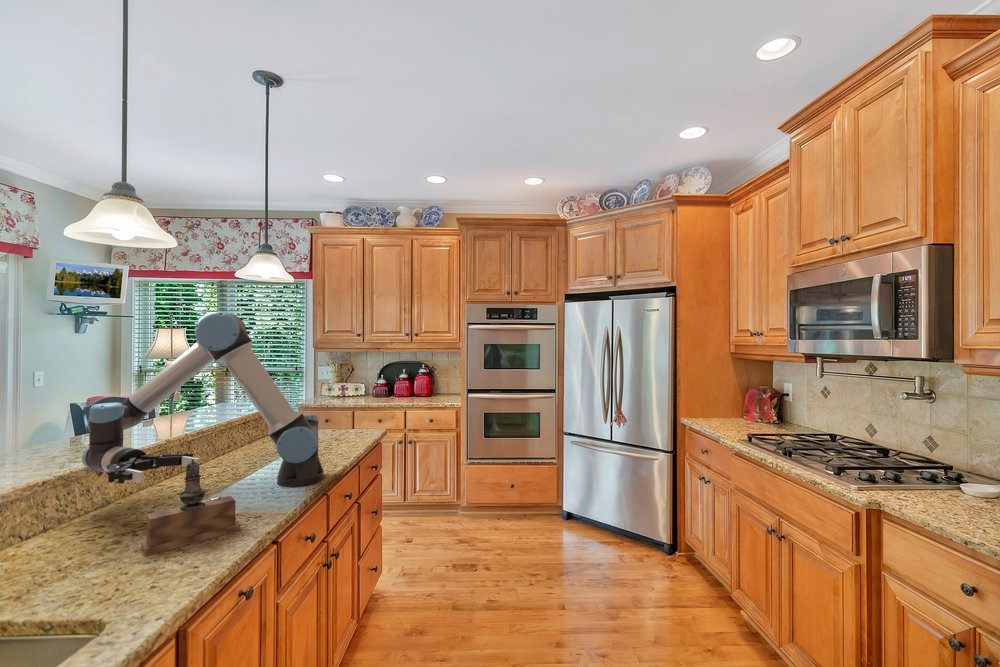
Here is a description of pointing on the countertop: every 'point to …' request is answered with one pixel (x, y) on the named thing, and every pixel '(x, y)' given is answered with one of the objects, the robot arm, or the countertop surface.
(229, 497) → the ridge
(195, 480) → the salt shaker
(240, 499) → the countertop surface
